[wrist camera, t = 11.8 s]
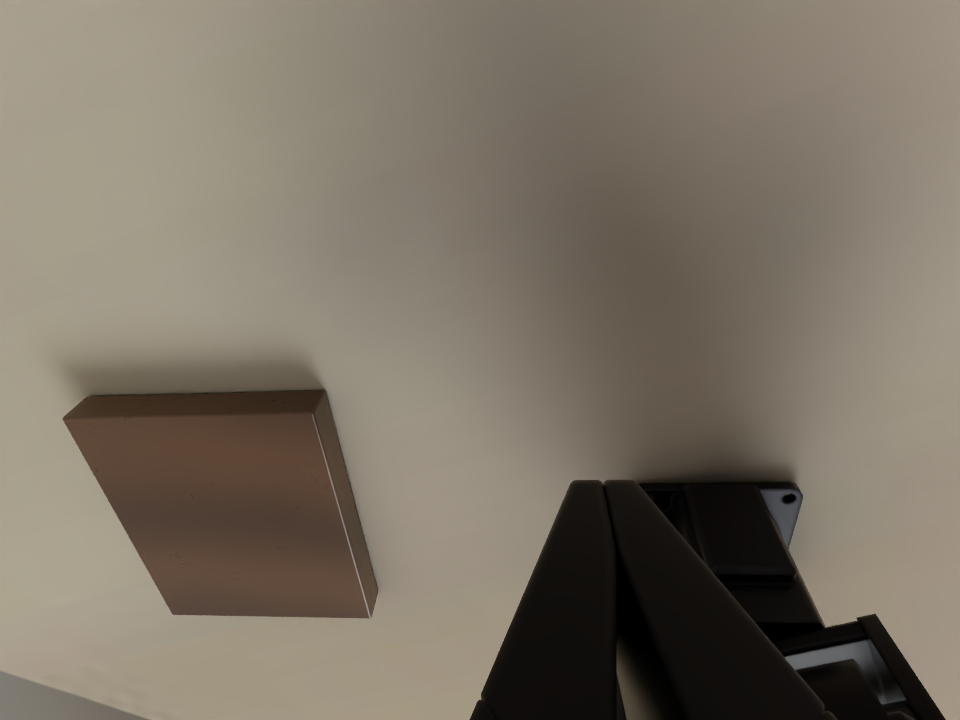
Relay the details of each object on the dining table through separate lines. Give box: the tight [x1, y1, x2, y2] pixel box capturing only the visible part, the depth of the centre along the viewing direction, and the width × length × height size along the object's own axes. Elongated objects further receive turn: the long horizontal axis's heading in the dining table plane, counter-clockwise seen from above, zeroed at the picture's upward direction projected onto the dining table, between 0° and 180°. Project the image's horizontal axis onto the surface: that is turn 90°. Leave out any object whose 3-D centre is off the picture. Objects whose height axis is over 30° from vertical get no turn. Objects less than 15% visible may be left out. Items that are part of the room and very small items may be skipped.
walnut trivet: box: [63, 391, 378, 618], centre depth 25 cm, size 12×10×2 cm
